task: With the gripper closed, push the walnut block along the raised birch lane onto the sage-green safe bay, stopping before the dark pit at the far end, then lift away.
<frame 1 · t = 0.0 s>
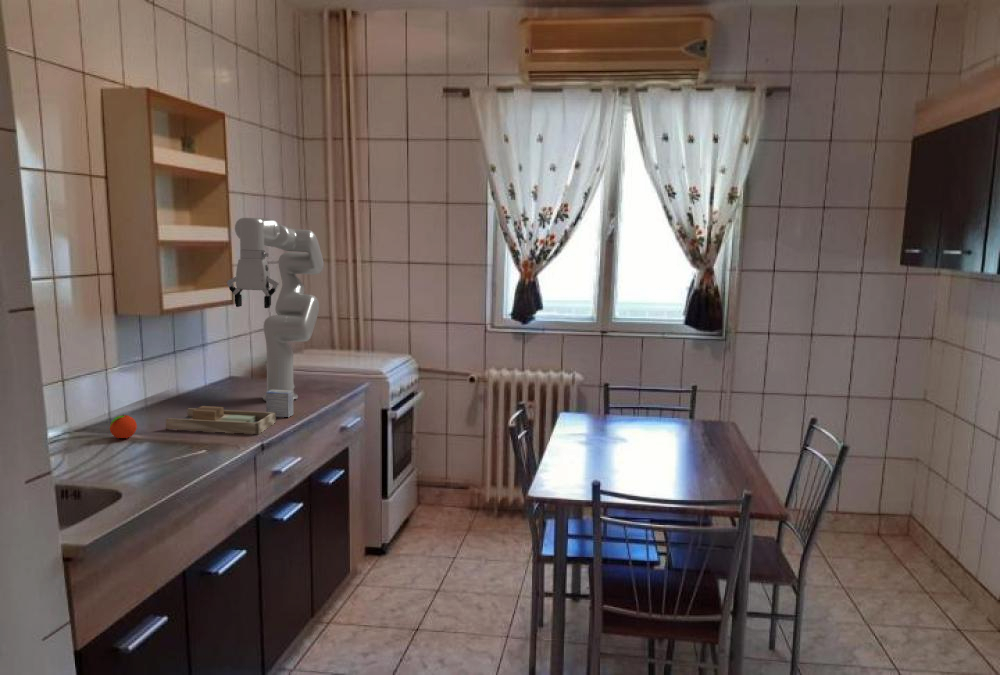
hand: (252, 307, 224), 37 cm above the counter, tool pointing down, fingers open, 9 cm apart
medicine box: (280, 416, 229), on the counter
clementine: (122, 439, 197), on the counter
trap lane: (222, 426, 213), on the counter
walnut block: (208, 417, 213), point 2 cm above the counter, touching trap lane
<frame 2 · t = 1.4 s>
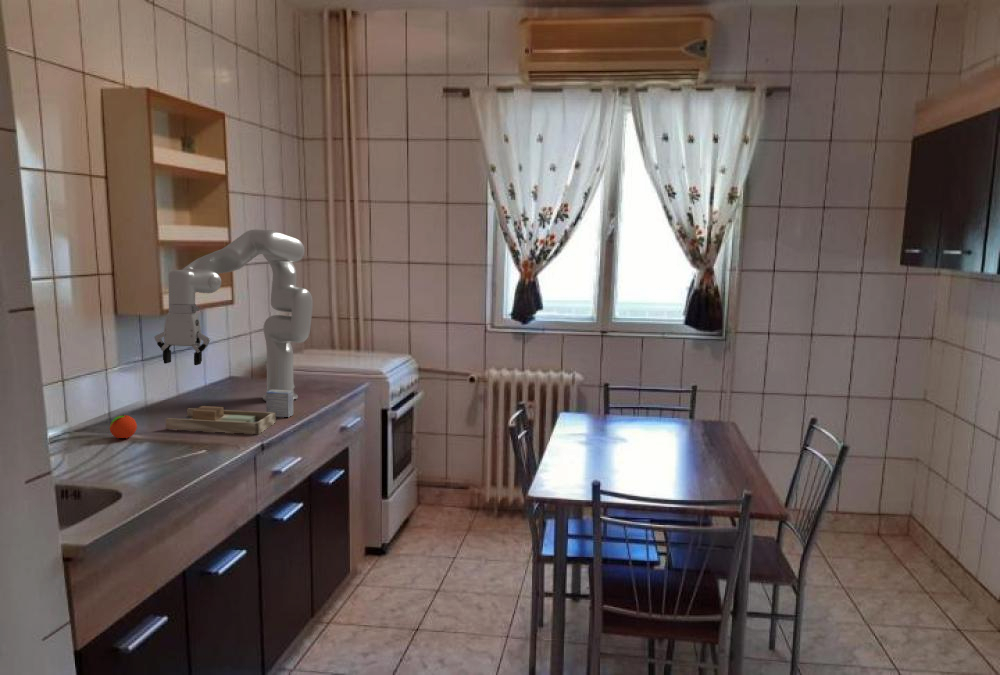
hand: (182, 363, 212), 20 cm above the counter, tool pointing down, fingers open, 9 cm apart
nothing on the counter moved.
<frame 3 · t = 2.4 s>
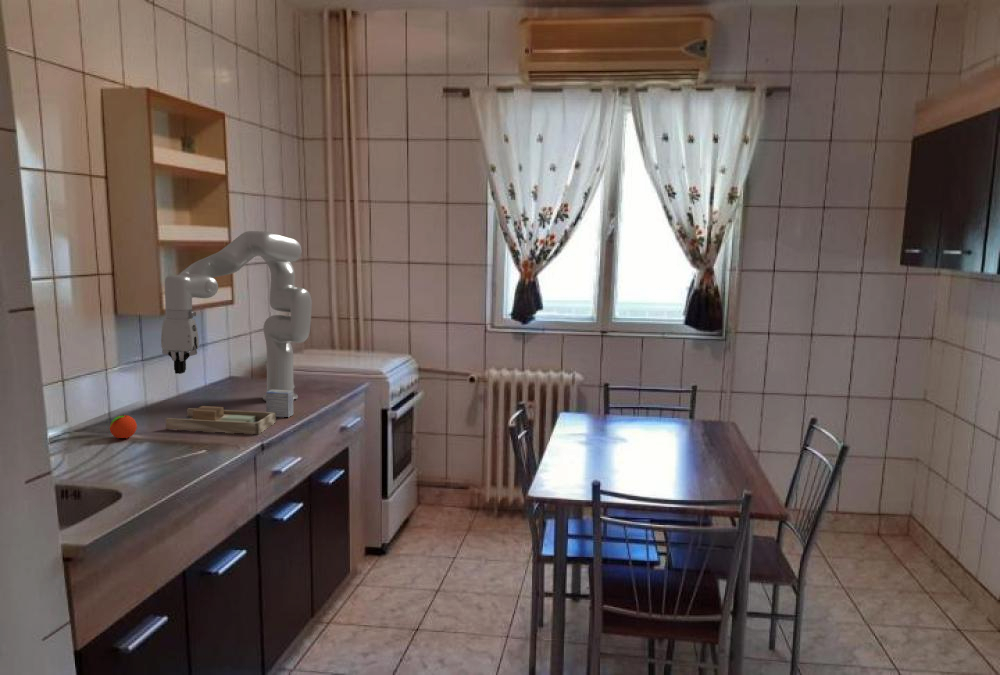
hand: (180, 372, 212), 17 cm above the counter, tool pointing down, fingers closed
nothing on the counter moved.
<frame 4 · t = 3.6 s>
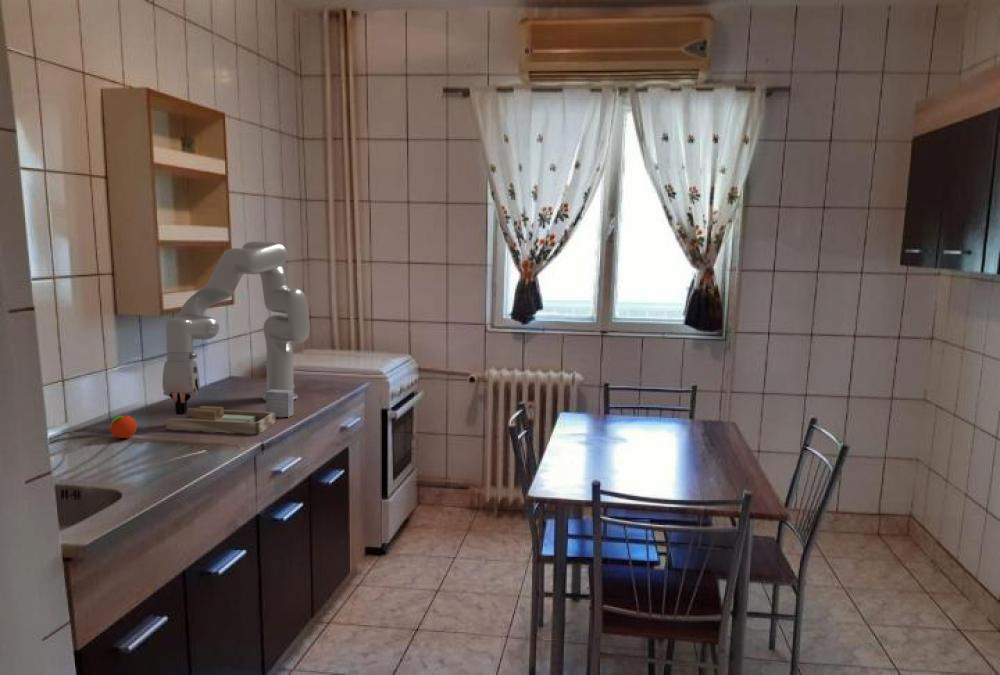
hand: (181, 413, 213), 3 cm above the counter, tool pointing down, fingers closed
nothing on the counter moved.
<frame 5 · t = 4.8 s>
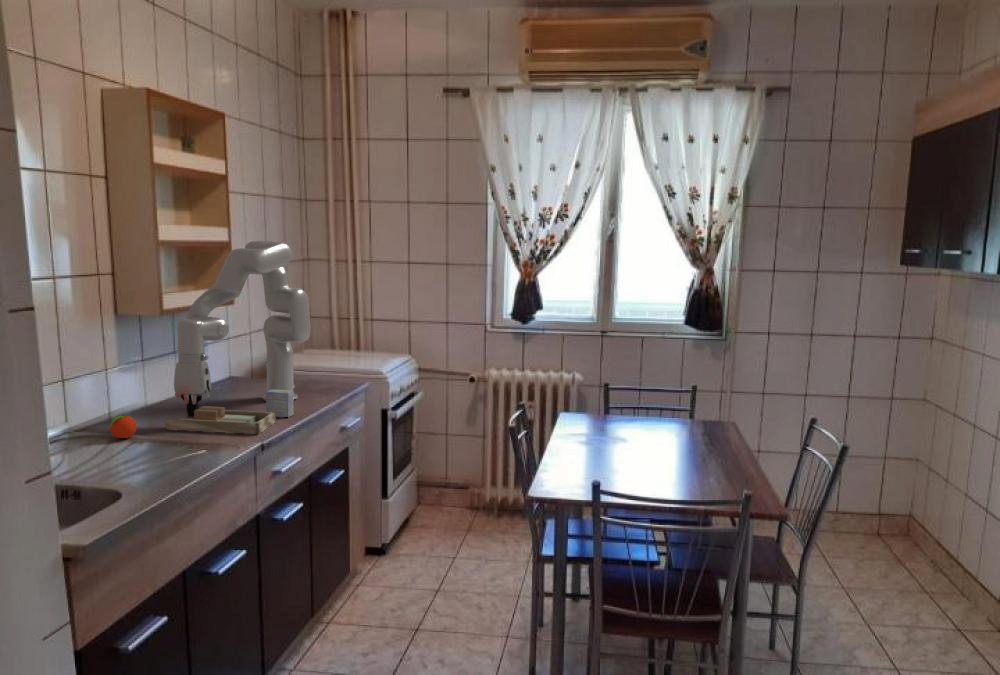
hand: (192, 415, 213), 3 cm above the counter, tool pointing down, fingers closed
walnut block: (209, 418, 213), point 3 cm above the counter, touching gripper
everything else where it was.
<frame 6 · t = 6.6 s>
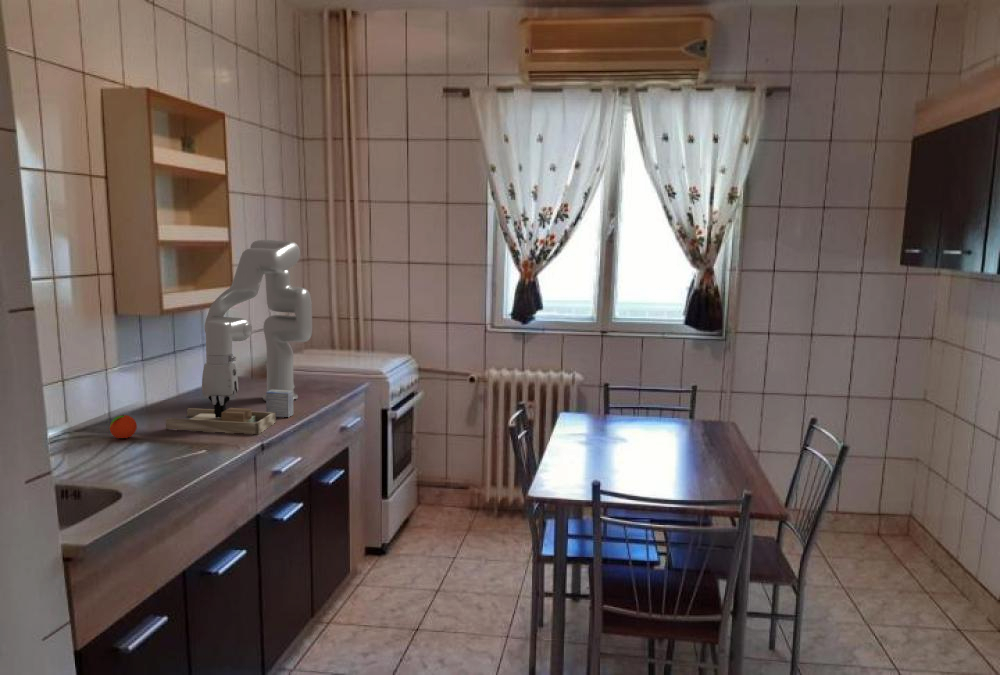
hand: (220, 416, 213), 3 cm above the counter, tool pointing down, fingers closed
walnut block: (236, 419, 212), point 3 cm above the counter, touching gripper
everything else where it was.
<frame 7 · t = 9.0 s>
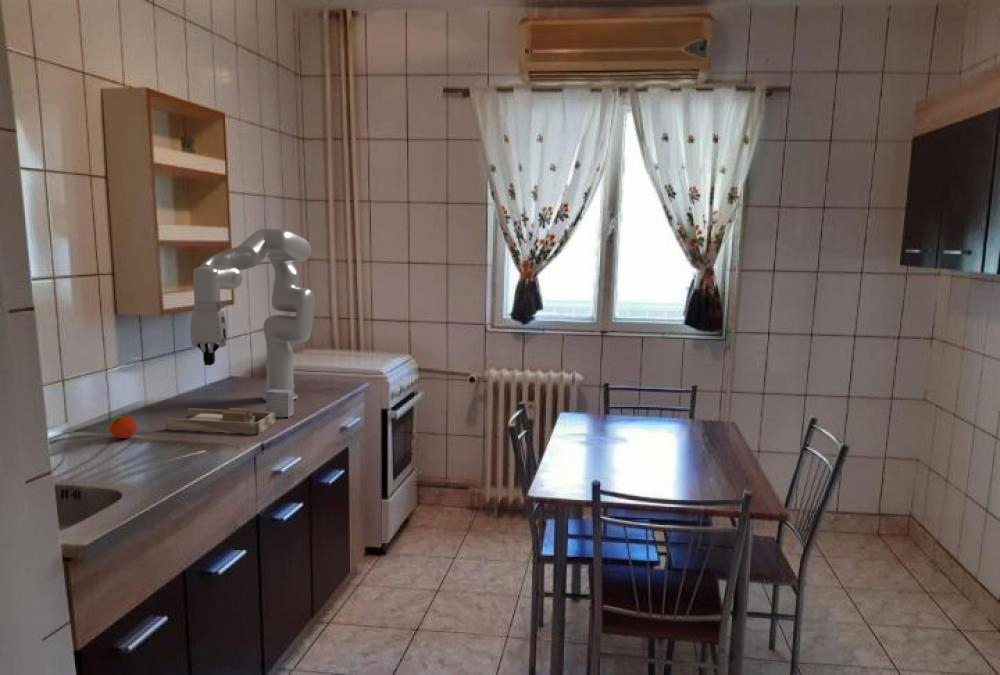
hand: (209, 364, 213), 20 cm above the counter, tool pointing down, fingers closed
walnut block: (237, 419, 212), point 2 cm above the counter, touching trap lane
everything else where it was.
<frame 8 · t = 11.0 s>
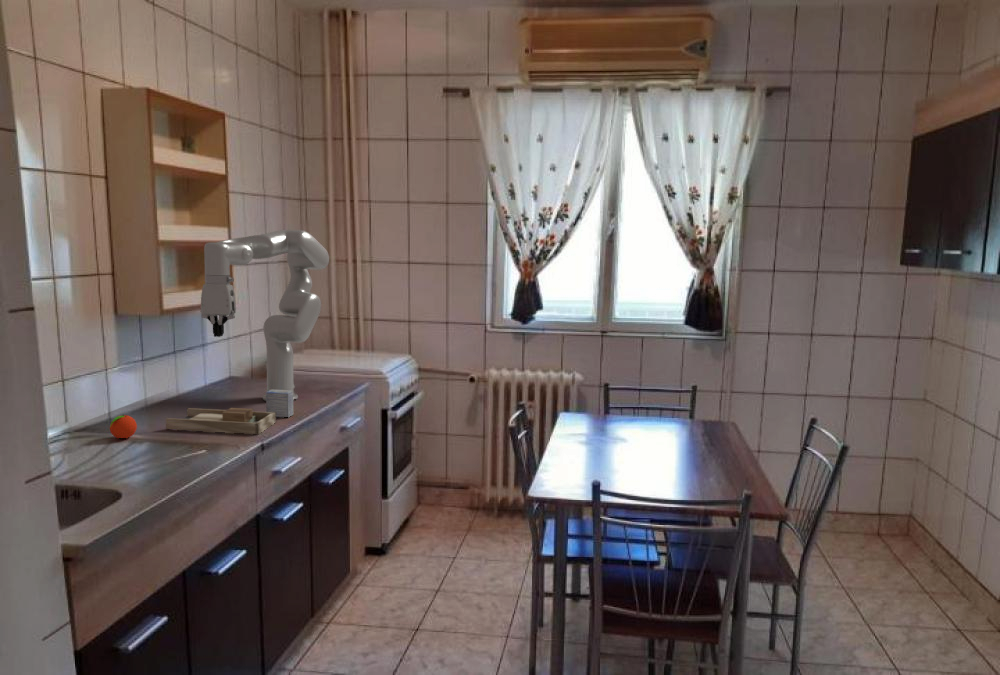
hand: (218, 336, 222), 27 cm above the counter, tool pointing down, fingers closed
nothing on the counter moved.
at the end: walnut block 1.2 cm from the target spot, point 2.5 cm above the counter; walnut block tilted 0° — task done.
